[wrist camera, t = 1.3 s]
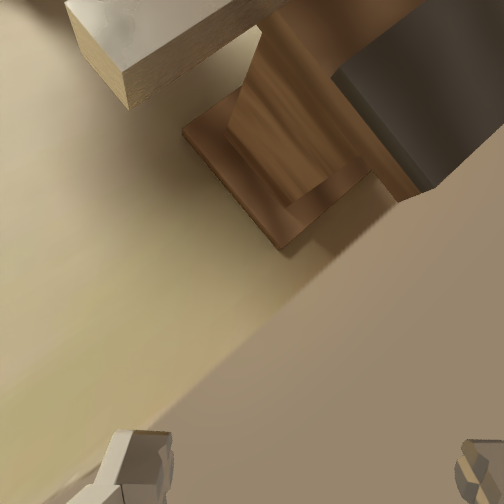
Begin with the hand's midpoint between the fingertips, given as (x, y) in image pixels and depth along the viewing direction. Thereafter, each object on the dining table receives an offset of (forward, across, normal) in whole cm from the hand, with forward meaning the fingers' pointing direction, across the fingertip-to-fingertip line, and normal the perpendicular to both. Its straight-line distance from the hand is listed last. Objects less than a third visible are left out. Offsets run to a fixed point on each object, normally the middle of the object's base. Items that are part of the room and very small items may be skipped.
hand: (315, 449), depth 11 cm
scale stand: (+38, -1, -1) cm, 38 cm away
